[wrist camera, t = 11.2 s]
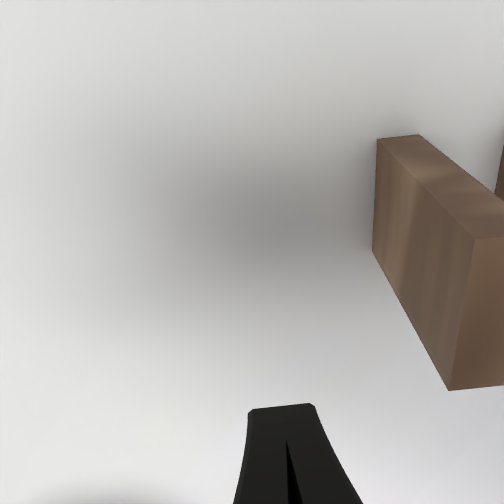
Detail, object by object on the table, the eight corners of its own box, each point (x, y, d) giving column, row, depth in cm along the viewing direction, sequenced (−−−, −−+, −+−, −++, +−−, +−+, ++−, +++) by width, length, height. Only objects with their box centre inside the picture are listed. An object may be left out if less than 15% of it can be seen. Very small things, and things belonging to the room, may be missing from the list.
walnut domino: (419, 134, 18) (542, 232, 11) (408, 247, 20) (504, 385, 13) (377, 138, 18) (474, 239, 11) (372, 251, 20) (448, 391, 13)
